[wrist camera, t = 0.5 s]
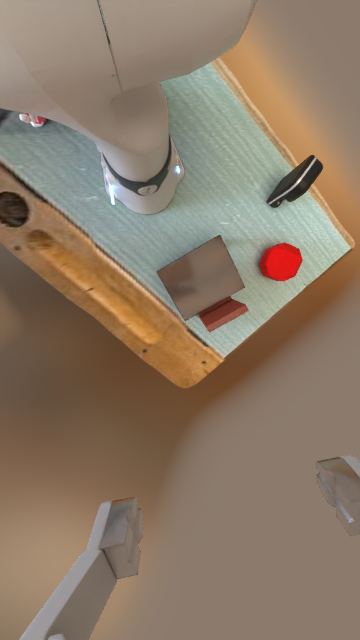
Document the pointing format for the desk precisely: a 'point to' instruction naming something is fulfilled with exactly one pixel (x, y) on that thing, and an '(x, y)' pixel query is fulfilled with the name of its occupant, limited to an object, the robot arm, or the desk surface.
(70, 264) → the desk surface
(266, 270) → the ball
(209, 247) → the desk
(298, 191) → the battery charger
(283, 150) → the desk surface
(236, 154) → the desk surface
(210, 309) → the chair
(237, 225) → the desk surface
